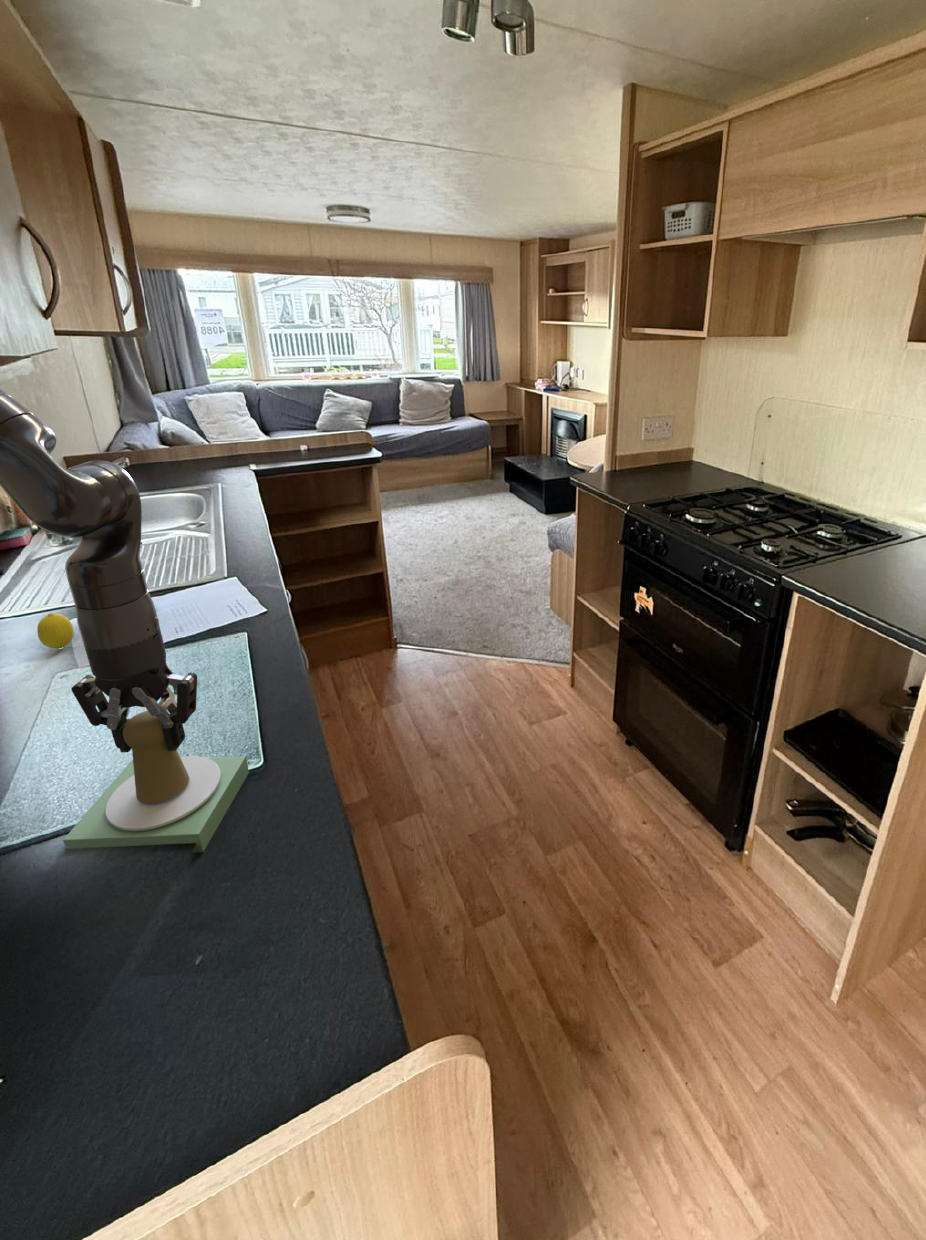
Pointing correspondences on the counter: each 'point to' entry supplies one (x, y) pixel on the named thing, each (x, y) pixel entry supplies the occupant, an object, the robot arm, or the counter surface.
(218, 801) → the scale
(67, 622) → the lemon
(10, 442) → the robot arm
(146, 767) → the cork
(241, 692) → the counter surface
